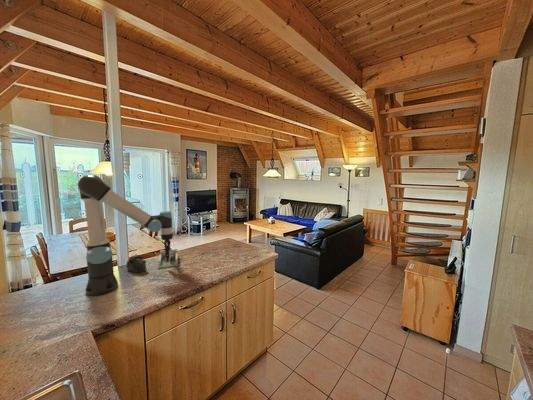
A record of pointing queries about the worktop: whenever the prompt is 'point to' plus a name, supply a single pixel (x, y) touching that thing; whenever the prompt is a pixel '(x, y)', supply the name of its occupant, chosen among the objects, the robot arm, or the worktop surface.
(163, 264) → the header
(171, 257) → the plug
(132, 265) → the camera
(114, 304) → the worktop surface
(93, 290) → the robot arm
